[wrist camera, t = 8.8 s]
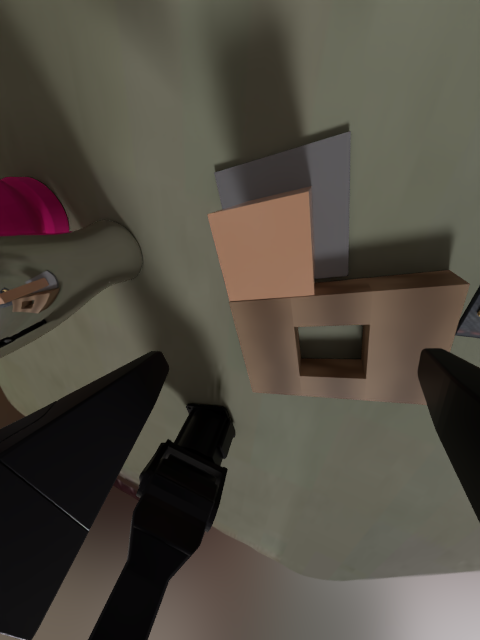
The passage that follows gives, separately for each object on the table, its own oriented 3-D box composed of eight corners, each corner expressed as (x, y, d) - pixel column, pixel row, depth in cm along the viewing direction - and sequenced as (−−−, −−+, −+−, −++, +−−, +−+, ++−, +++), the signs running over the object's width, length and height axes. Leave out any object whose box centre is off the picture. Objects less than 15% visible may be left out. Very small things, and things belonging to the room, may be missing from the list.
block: (259, 258, 19) (229, 301, 12) (249, 200, 17) (207, 214, 10) (314, 251, 17) (314, 295, 11) (311, 186, 15) (308, 191, 9)
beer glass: (86, 262, 25) (-137, 342, 13) (88, 199, 21) (-237, 228, 8) (140, 294, 25) (-26, 404, 13) (153, 238, 21) (-73, 322, 9)
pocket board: (257, 375, 26) (252, 392, 24) (237, 290, 21) (229, 302, 19) (422, 382, 21) (434, 405, 19) (449, 269, 16) (469, 284, 14)
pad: (241, 284, 21) (240, 286, 20) (216, 172, 17) (214, 172, 16) (347, 273, 18) (348, 275, 17) (349, 132, 13) (350, 131, 13)
